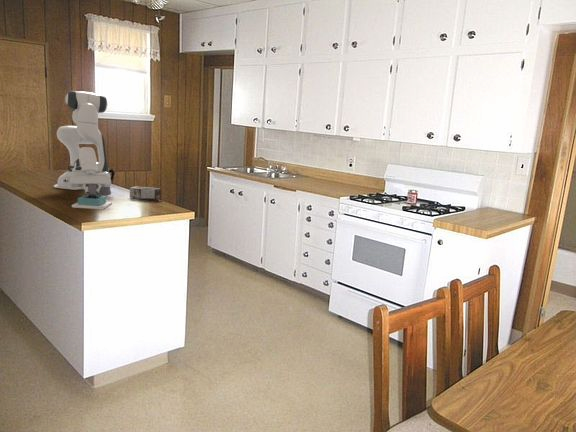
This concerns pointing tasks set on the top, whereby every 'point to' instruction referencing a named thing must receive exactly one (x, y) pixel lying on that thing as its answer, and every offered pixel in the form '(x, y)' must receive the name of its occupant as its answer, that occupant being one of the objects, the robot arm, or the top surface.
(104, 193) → the coffeepot
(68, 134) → the robot arm
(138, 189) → the coffee box
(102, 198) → the keeper board
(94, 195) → the steel pin
